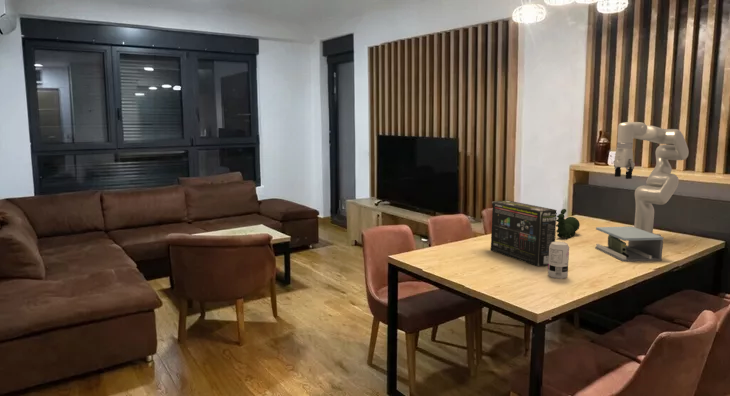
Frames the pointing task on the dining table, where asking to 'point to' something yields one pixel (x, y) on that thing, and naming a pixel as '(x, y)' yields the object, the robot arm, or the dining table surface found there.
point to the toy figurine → (566, 225)
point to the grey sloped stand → (637, 250)
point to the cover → (629, 233)
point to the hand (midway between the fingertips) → (623, 177)
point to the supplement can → (558, 260)
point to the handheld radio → (617, 245)
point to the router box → (523, 231)
